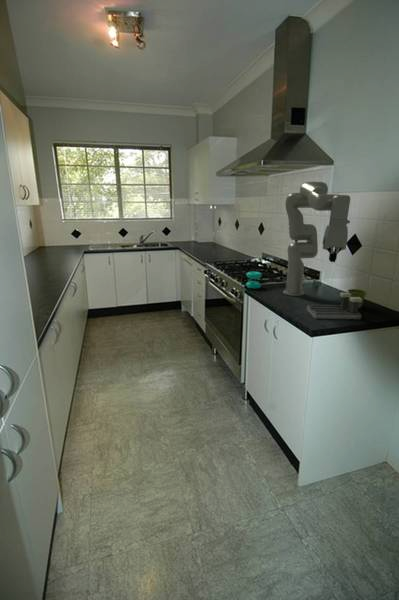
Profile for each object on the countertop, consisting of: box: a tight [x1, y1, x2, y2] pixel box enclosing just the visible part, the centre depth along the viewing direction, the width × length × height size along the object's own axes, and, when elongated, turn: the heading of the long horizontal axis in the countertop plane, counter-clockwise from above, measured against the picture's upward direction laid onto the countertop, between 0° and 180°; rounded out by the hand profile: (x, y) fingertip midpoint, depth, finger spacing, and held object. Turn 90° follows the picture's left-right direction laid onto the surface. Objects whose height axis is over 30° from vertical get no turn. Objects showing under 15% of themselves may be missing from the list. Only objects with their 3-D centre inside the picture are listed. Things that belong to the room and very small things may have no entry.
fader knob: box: [350, 297, 362, 313], centre depth 154 cm, size 3×4×8 cm
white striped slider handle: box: [339, 292, 352, 308], centre depth 162 cm, size 3×4×8 cm
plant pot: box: [347, 288, 368, 309], centre depth 171 cm, size 9×9×9 cm
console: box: [306, 304, 362, 320], centre depth 160 cm, size 14×22×3 cm, turn 88°
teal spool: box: [245, 271, 263, 290], centre depth 210 cm, size 10×10×10 cm
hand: (332, 261), depth 153 cm, fingers closed
